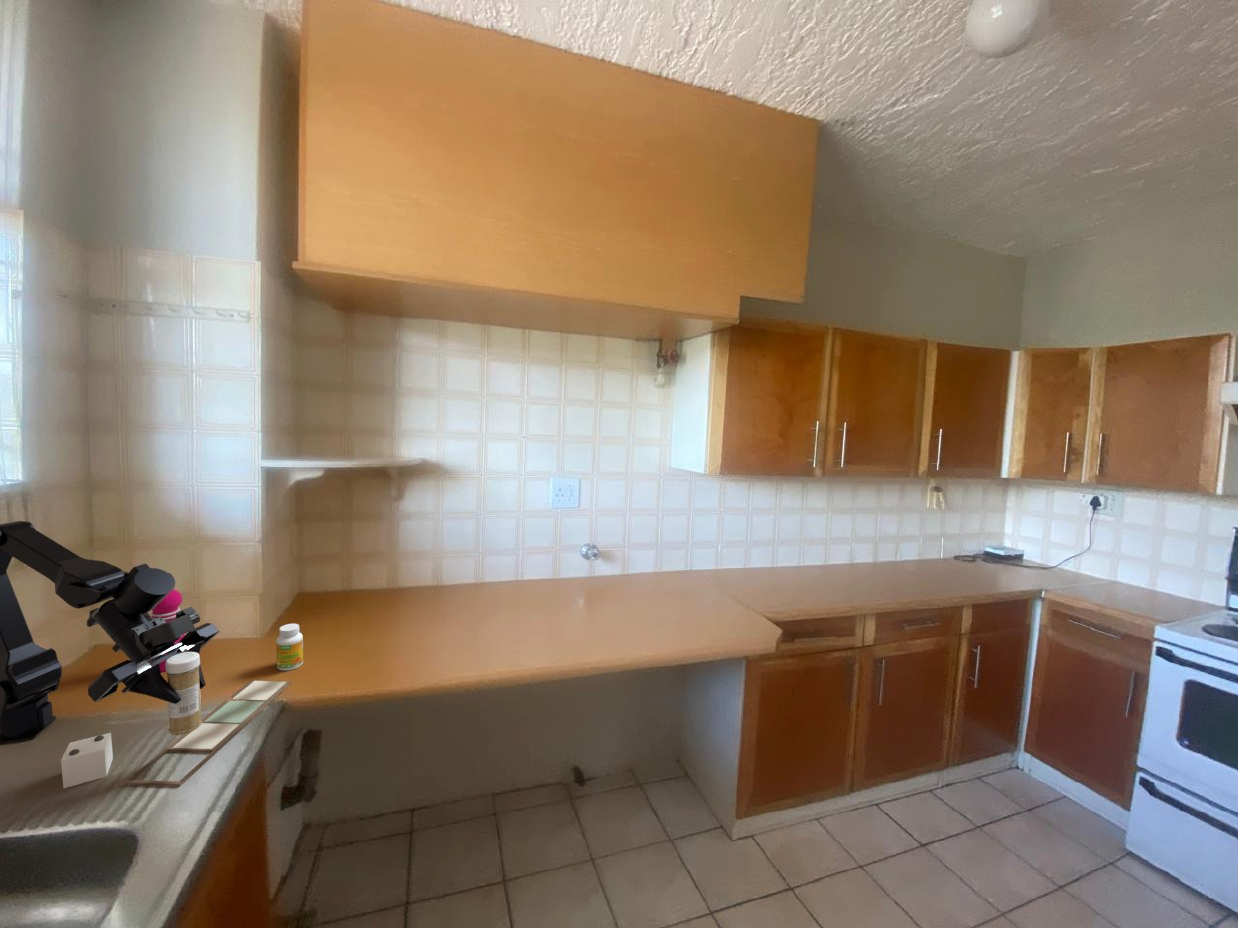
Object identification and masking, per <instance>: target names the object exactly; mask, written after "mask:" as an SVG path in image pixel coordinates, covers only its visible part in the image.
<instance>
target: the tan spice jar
mask: <svg viewBox="0 0 1238 928" xmlns="http://www.w3.org/2000/svg"><path fill="white" fill-rule="evenodd" d="M199 664H200V665H201V658H200V653H199V654H198V653H196V652H184V653H180V654H176V655H174V656H172V657H170V658H168V659H167V660H166V663H165V669H166V671H165V672H166V677H167V679H166V681H167V682H168V683H169V685H170V686H171V687H172V688H173V689H174V690H175V691H176V693H177V694H178V696H179V697H180V699H181V700H180V701H179V702H178V703H177V704H174V703H170V702H167V712H168V721H169V722H168V723H169V728H168V733H169V734H170V735H171V736H172V735H173V736H182V735H183V734H186V733H189V732H191V731H194V730H195V729H197V728H198V727H199V726H200V725H201V724H202V717H201V716H202V714H201V711H202V710H201V706H202V702H201V701H202V699H201V698H202V697H201V689H200V682H199Z"/></svg>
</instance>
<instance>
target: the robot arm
mask: <svg viewBox="0 0 1238 928" xmlns="http://www.w3.org/2000/svg"><path fill="white" fill-rule="evenodd" d="M13 558H15V559H16V560H18V561H19V562H21V563H23V564H24V565H26V566H28V567H29V568H31V569H33V570H34V571H35V572H37V573H39V574H40V575H42V576H43V577H45V578H47V579H49V580H50V581H51V582H52V583H53V584H54V590H55V591H54V592H55V594H56V595H57V596H58V597H59V598H60V599H61V600H63V601H64V602H65V603H66V604H68V605H69V606H70V607H72V608H74V609H78V610H79V609H83V608H84V609H85V608H88V607H89V606H93V605H95V604H98V603H101V602H104V603H102V604H101V605H100V606H99V607H97V608H94V609H91V610H89V616H88V618H87V620H86V626H87V627H88V628H91V627H93V626H96V625H99V626H100V627H101V629H102V630H103V631H104V632H105V633H106V634H107V635H108V637H110V639H111V640H112V641H113V643H115V644H114V645H113V646H112V647H111V650H113V651H114V653H118V652H119V651H122V652H123V653H124V655H125V656H126V657H127V658H128V659H126V660H124V661H122V662H119V663H117V664H115V665H112V666H111V667H109V668H107V669H105V670H103V671H102V672H101V673H100V674H99V675H98V676H97V677H96V678H95V679H94V680H93V681H92V682H91V683H90V684H89V685H88V688H87V695H88V696H89V697H90V699H91V700H92V701H93V702H94V703H98V702H101V700H103V699H104V700H105V698H108V697H109V696H111V695H113V694H115V693H116V692H118V691H117V690H118V687H119V684H121V683H122V684H123V685H124V686H125V687H124V688H123V689H121V693H122V694H126V693H128V692H131V693H135V694H138V695H143V696H149V697H152V698H155V699H159V700H161V701H164V702H167V703H168V702H170V703H174V704H177V703H178V702H179V701H180V700H181V699H180V697H179V696H178V694H177V693H176V691H175V690H174V689H173V688H172V687H171V686H170V685H169V683H168V682H167V679H165V677H164V676H163V675H162V672H160V666H159V663H161V662H163V661H165V660H167V659H168V658H170V657H172V656H174V655H176V654H180V653H184V652H196V653H198V654H199V655H200V652H201V649H202V648H204V647H205V646H206V645H207V644H208V643H209V642H210V641H211V640H212V639H213V638H214V637H216V635H218V634H219V633H220V630H219V629H218V627H216V625H215V623H211V622H206V623H203V624H201V625H199V626H197V627H195V625H196V624H198V623H200V621H201V617H200V615H199V612H197V611H196V609H194V608H193V607H192V606H190V607H187V608H184V609H182V610H179V612H177V613H176V618H175V619H173V620H171V621H168V622H165V620H164V619H163V618H160V617H158V618H156V619H153V618H152V615H151V614H150V612H152V609H154V608H155V607H156V606H157V605H158V604H159V603H160V602H161V601H162V600H163V599H164V598H165V597H166V596H167V595H168V594H169V593H170V592H171V591H172V590H173V589H174V590H175V586H176V579H175V577H174V575H172V574H171V573H170V572H167V571H166V570H164V569H160V568H158V567H157V568H155V567H150V566H149V565H148V564H147V563H143V564H142V563H141V564H139V565H136V566H133V567H132V568H131V570H129V572H127V571H124V570H122V569H121V568H120V567H118V566H116V565H113V564H111V563H108V562H106V561H104V560H103V561H102V560H96V559H95V560H94V559H89V558H87V559H86V558H84V557H82V556H80V555H78V554H77V553H75V552H73V551H71V550H70V549H68V548H67V547H66V546H63V545H62V544H60V543H58V542H56V541H55V540H53V539H52V538H50V537H48V536H47V535H46V534H43V533H42V532H40V531H38V530H37V529H36V527H35V525H33V523H31V522H30V521H23V520H17V521H11V522H6V523H4V522H3V523H1V524H0V744H6V743H8V744H9V743H15V742H22V741H29V740H33V739H36V737H38V736H39V735H40V734H41V733H43V731H44V730H46V728H48V727H49V726H50V725H51V724H52V723H54V721H56V720H57V716H56V715H54V714H53V703H52V701H49V695H48V694H50V693H54V692H56V691H58V688H59V685H60V683H61V682H60V681H61V677H62V675H63V674H62V673H63V665H62V664H61V663H60V661H59V658H58V655H57V652H56V650H55V649H54V648H50V647H49V648H47V649H45V648H44V647H42V646H40V645H38V644H36V643H35V641H34V638H33V635H32V634H31V631H30V628H29V626H28V624H27V623H28V622H27V620H26V618H25V615H24V612H23V611H22V608H21V604H20V603H19V600H18V598H17V595H16V592H15V590H14V588H13V585H12V582H11V580H10V577H9V574H8V570H9V569H8V568H9V566H10V564H11V562H12V559H13ZM183 634H184V635H185V636H184V637H183V638H182V639H181V640H180V641H179V642H178V643H176V644H175V643H174V642H175V641H177V640H179V639H180V638H181V637H182V635H183ZM166 653H168V654H166ZM164 654H166V655H164ZM163 655H164V656H163ZM152 660H154V661H152ZM151 661H152V662H151ZM199 682H200V690H202V689H203V688H205V686H206V681H205V676H204V674H203V670H202V666H201V663H200V664H199Z"/></svg>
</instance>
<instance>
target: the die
mask: <svg viewBox="0 0 1238 928" xmlns="http://www.w3.org/2000/svg"><path fill="white" fill-rule="evenodd" d="M112 743H113V740H112V732H108V733H103V734H100V735H96V736H91V737H87V738H84V739H79V740H76V741H75V740H74V741H72V742H69V744H68V745H67V747H66V749H65V751H64V753H63V755H62V758H61V759H60V764H61V766H60V767H61V773H62V774H61V775H62V786H63V789H66V788H67V789H68V788H71V787H75V786H78V785H81V784H86V783H88V782H91V781H95V780H99V779H103V778H107V776H108V773H109V770H110V769H111V765H112V762H113V759H114V755H113V754H114V753H113V744H112Z"/></svg>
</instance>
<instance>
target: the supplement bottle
mask: <svg viewBox="0 0 1238 928" xmlns="http://www.w3.org/2000/svg"><path fill="white" fill-rule="evenodd" d="M278 630H279V636H278V637H277V638H276V641H275V643H276V644H275V651H276V668H277V669H278V670H279V671H283V672H286V671H291V670H294V669H298V668H299V667H301V666H302V665H303V663H304V636H303V634H302V632H300V625H299V624H298V623H288V624H287V623H286V624H284V625H282V626H280V627H279V629H278Z"/></svg>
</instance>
